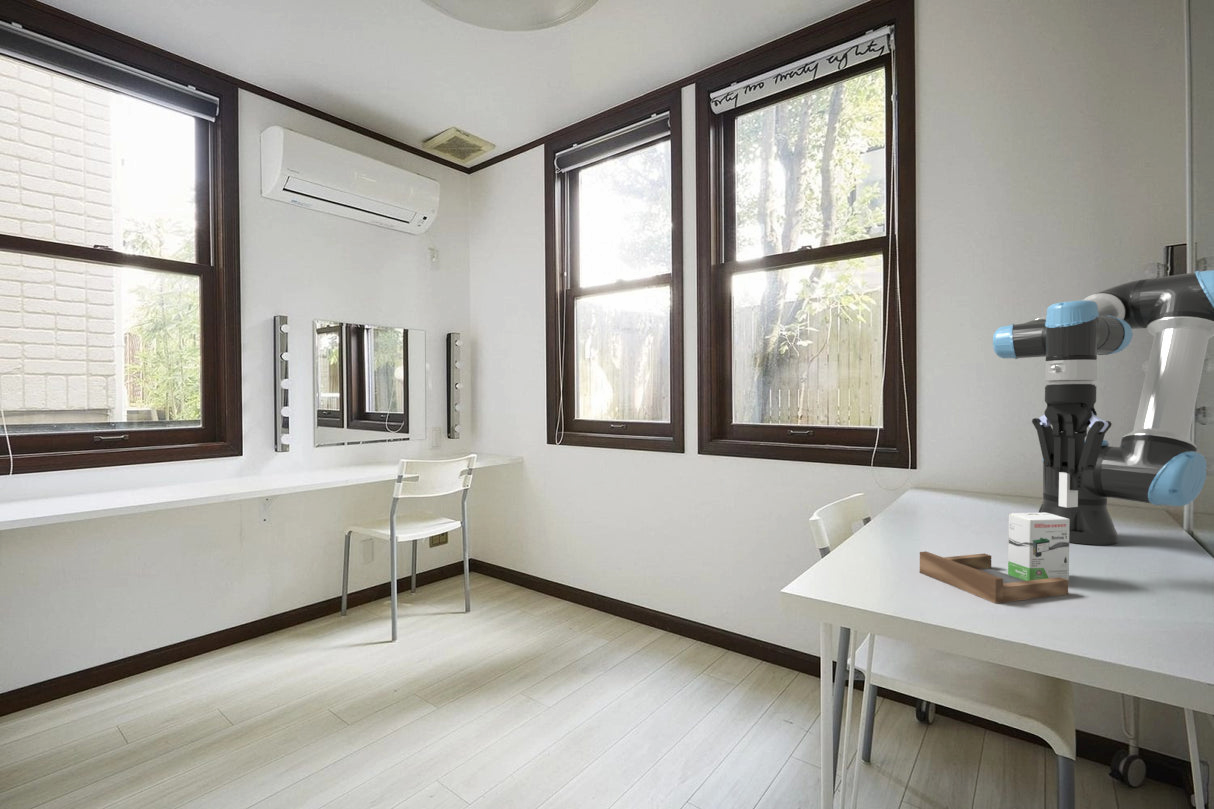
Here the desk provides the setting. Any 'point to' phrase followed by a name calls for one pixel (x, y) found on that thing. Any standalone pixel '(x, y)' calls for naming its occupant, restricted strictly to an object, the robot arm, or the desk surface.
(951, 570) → the u rest
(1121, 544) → the desk surface
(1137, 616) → the desk surface
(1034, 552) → the ink box
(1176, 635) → the desk surface
